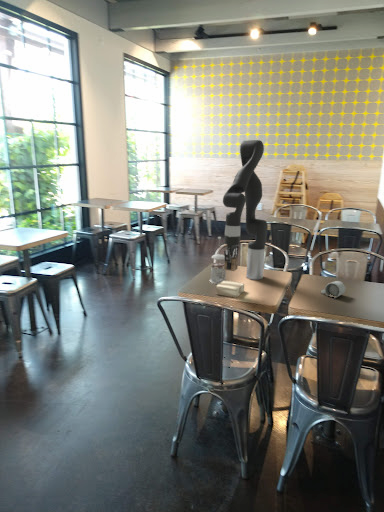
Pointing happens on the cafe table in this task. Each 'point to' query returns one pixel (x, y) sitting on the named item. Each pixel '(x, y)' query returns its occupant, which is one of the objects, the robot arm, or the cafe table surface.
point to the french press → (216, 273)
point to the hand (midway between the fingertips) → (230, 267)
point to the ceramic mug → (334, 289)
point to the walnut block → (232, 264)
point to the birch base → (230, 288)
